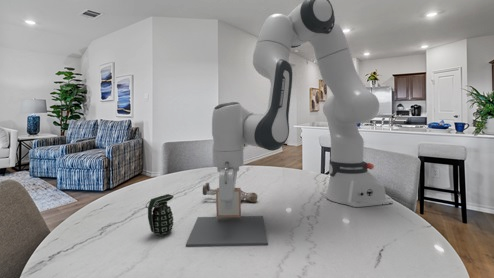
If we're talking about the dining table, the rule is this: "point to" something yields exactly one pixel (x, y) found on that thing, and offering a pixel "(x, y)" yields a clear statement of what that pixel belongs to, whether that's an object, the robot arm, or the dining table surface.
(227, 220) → the mat
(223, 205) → the tile
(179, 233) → the dining table surface
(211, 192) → the figurine
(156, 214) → the grenade
